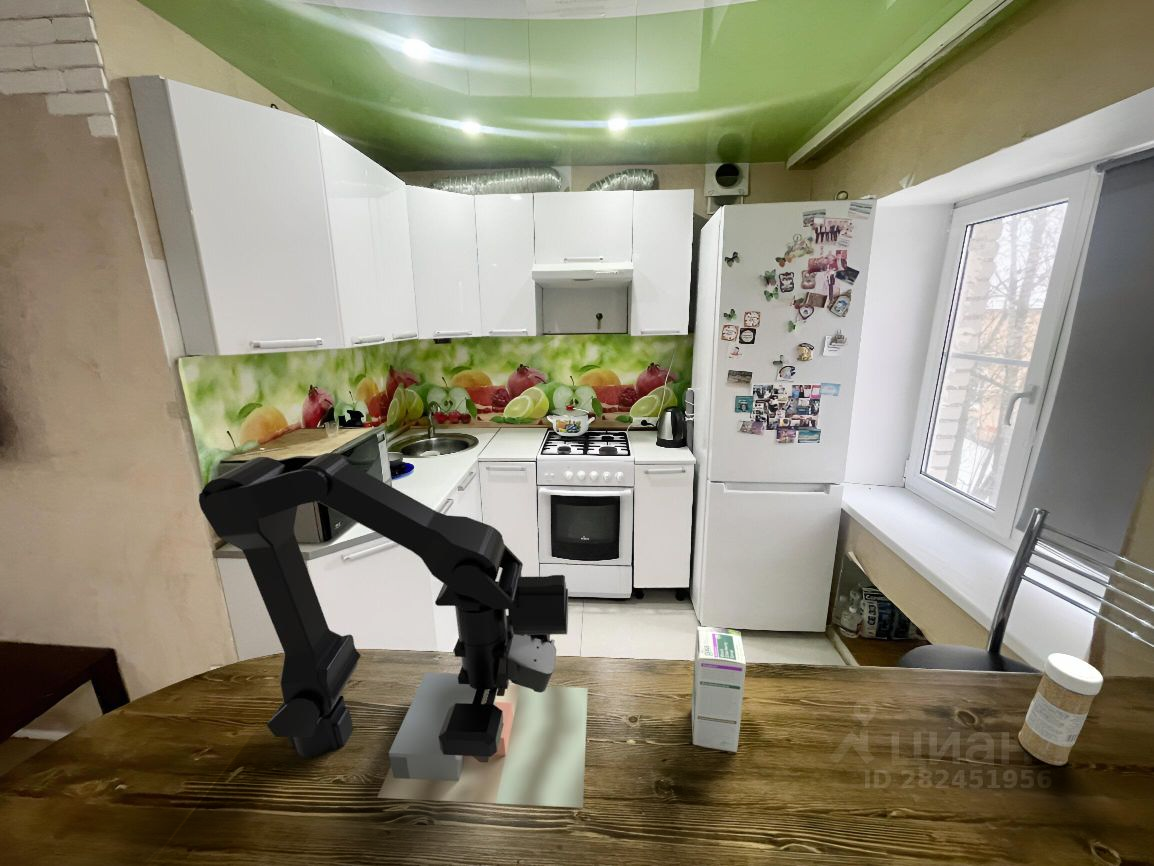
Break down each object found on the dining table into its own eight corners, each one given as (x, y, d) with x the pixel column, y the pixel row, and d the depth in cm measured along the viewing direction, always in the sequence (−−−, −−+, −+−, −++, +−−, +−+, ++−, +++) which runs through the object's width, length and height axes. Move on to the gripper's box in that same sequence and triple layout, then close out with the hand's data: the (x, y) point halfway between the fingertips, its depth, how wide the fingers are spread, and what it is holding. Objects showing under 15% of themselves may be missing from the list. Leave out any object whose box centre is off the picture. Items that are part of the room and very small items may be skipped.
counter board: (378, 803, 53) (377, 797, 53) (428, 687, 68) (427, 682, 68) (583, 813, 51) (582, 807, 51) (587, 693, 67) (587, 687, 66)
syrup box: (738, 754, 58) (749, 664, 53) (690, 745, 59) (698, 657, 54) (732, 714, 63) (742, 629, 58) (689, 707, 64) (695, 623, 60)
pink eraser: (428, 752, 58) (425, 734, 57) (441, 716, 62) (439, 700, 61) (505, 755, 57) (504, 738, 56) (513, 719, 62) (511, 702, 61)
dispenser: (393, 778, 55) (388, 752, 53) (429, 695, 66) (425, 672, 64) (464, 781, 54) (460, 755, 53) (488, 697, 65) (485, 674, 64)
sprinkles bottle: (1040, 731, 60) (1073, 650, 56) (1078, 766, 55) (1117, 681, 51) (1006, 733, 60) (1037, 652, 55) (1041, 768, 55) (1078, 683, 51)
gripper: (539, 698, 45) (545, 807, 50) (557, 580, 62) (560, 669, 67) (429, 694, 45) (446, 802, 50) (478, 579, 63) (487, 667, 68)
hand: (492, 725), depth 59 cm, fingers open, 9 cm apart
